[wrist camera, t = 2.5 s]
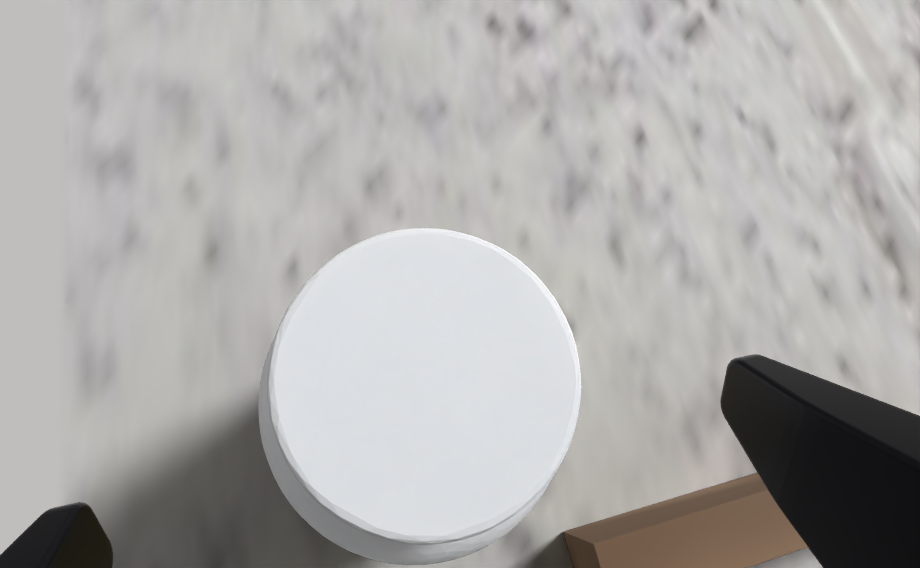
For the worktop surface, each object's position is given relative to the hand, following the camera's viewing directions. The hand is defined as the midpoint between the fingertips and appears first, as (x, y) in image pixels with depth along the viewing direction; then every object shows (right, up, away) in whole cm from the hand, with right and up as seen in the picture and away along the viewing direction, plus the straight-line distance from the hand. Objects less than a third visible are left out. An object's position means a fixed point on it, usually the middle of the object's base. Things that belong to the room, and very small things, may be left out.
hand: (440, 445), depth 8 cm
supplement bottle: (-1, -2, +9) cm, 9 cm away
